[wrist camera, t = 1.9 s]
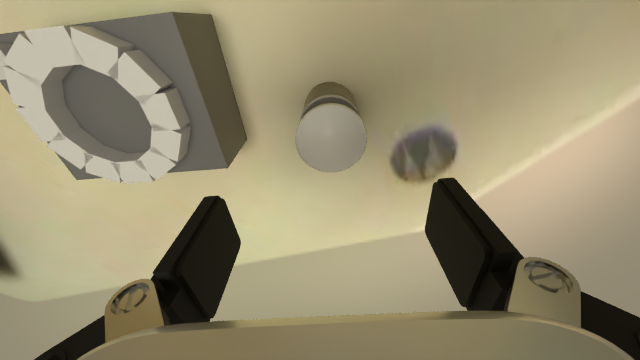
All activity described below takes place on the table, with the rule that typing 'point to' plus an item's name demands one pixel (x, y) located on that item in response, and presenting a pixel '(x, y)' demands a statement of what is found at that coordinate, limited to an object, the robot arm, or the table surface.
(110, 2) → the table surface
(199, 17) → the grey block with hole
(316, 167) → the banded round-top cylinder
